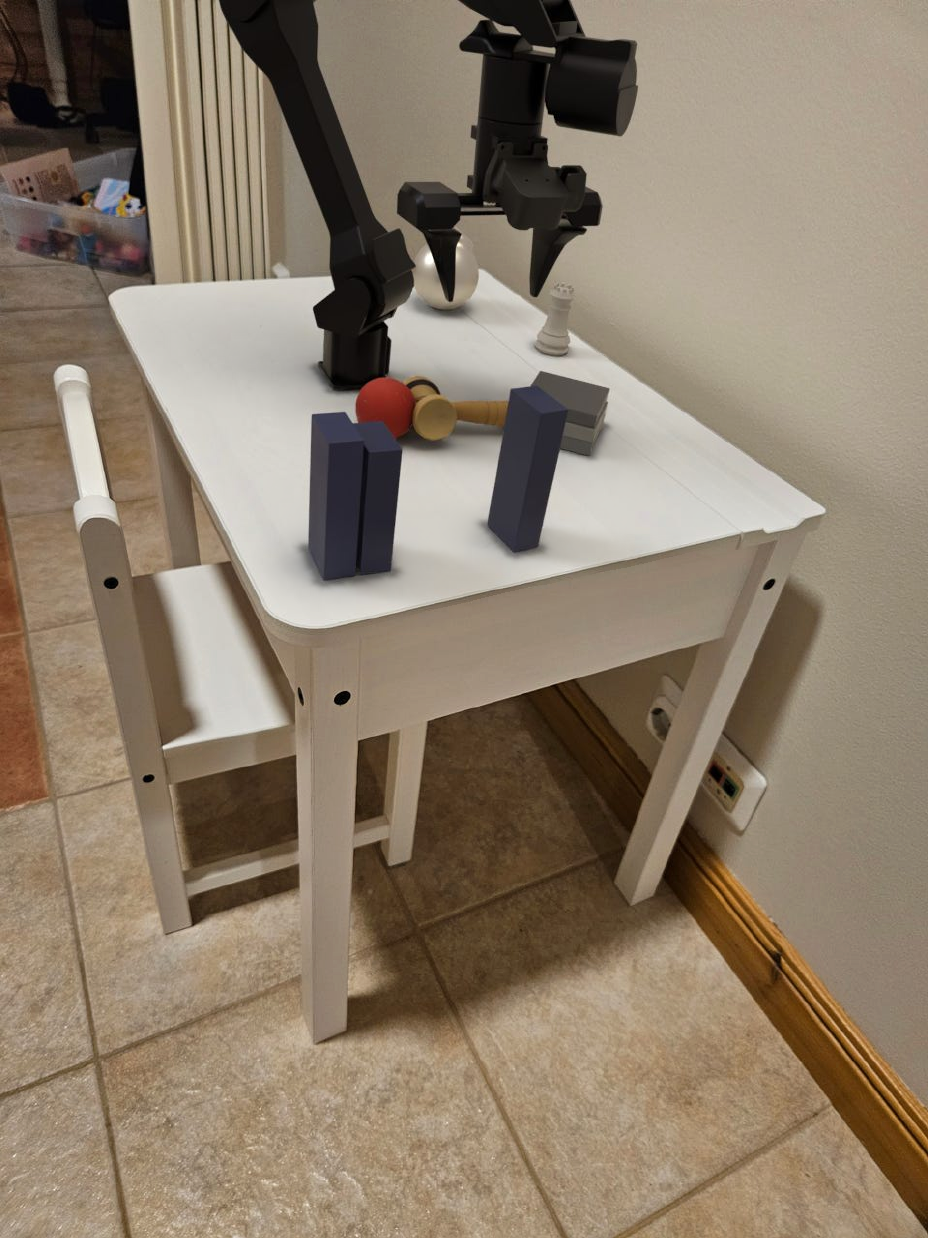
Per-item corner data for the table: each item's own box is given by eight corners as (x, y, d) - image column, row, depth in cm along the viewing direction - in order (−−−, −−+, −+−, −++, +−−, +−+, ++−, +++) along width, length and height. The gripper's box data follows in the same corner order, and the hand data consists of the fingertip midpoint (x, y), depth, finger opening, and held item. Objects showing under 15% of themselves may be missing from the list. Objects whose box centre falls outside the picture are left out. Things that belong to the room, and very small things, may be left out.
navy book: (513, 552, 75) (541, 413, 67) (486, 525, 78) (510, 388, 70) (538, 547, 77) (569, 409, 69) (510, 519, 80) (537, 384, 71)
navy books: (323, 580, 69) (328, 443, 61) (307, 548, 72) (311, 413, 65) (391, 571, 71) (404, 436, 64) (373, 540, 74) (383, 408, 67)
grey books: (515, 436, 92) (522, 397, 90) (533, 407, 99) (540, 369, 96) (589, 456, 91) (598, 417, 88) (602, 425, 97) (612, 387, 95)
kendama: (499, 419, 98) (341, 407, 90) (518, 370, 93) (354, 353, 86) (522, 464, 93) (358, 455, 86) (544, 414, 89) (373, 400, 81)
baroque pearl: (490, 311, 120) (501, 235, 114) (443, 324, 114) (453, 244, 108) (441, 290, 125) (450, 215, 118) (394, 301, 118) (400, 223, 112)
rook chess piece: (575, 354, 112) (589, 291, 108) (548, 358, 110) (561, 294, 105) (554, 340, 115) (566, 278, 110) (527, 344, 113) (538, 281, 108)
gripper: (447, 134, 68) (434, 333, 78) (649, 138, 75) (615, 321, 85) (398, 109, 76) (392, 292, 86) (585, 114, 83) (560, 284, 92)
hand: (492, 298), depth 87 cm, fingers open, 9 cm apart
